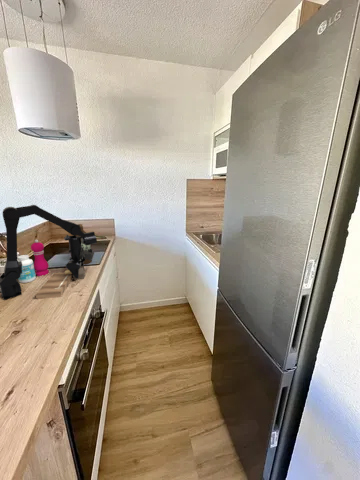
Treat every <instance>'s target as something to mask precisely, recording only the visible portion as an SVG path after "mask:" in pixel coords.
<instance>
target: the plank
mask: <svg viewBox="0 0 360 480" xmlns="http://www.w3.org/2000/svg"><path fill="white" fill-rule="evenodd" d="M73 280H74V278H73V274H65V271H63V272H61V271H60V272H54V273H52V275H51V276H50V277H49V278H48V279H47V281H46V282H45V283H43V285H42V286H41V287H40V288H39V289H38V291H37V292H35V298H36V300H41V299H50V298H60V297H62V296H63V295H64V293H65V292H66V290H67V288H68V287H69V286H70V284H71V282H72V281H73Z"/></svg>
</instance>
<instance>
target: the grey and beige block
mask: <svg viewBox="0 0 360 480" xmlns="http://www.w3.org/2000/svg"><path fill="white" fill-rule="evenodd" d="M85 271H86V269H85V265H83V266H81V268H80V269H79V276H78V278H75V277H74V275H73V281H75V280H76V281H77V279H78V280H84V279H85V277H86V272H85ZM64 272H65V274H72V273H71V272H70V271H69V270H68V269H65V271H64Z"/></svg>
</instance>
